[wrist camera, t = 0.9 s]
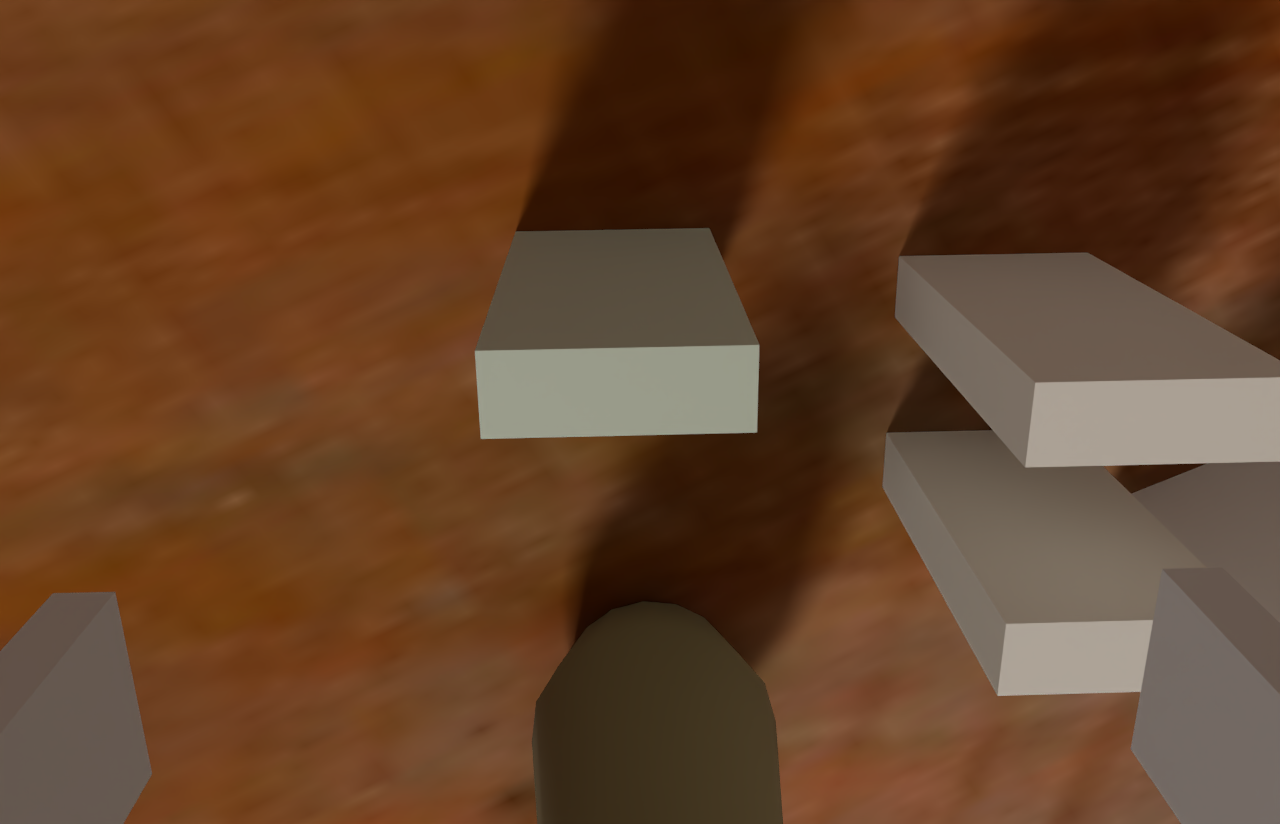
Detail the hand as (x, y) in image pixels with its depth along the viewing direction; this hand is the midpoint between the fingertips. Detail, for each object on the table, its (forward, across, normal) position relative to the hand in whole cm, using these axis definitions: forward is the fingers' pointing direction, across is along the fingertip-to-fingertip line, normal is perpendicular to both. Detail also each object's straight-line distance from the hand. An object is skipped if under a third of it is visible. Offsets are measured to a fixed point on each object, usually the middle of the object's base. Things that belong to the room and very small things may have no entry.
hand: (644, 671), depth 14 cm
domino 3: (+23, +12, -7) cm, 26 cm away
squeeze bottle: (+23, +1, -15) cm, 27 cm away
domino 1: (+22, 0, 0) cm, 23 cm away
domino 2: (+23, +12, -1) cm, 25 cm away
